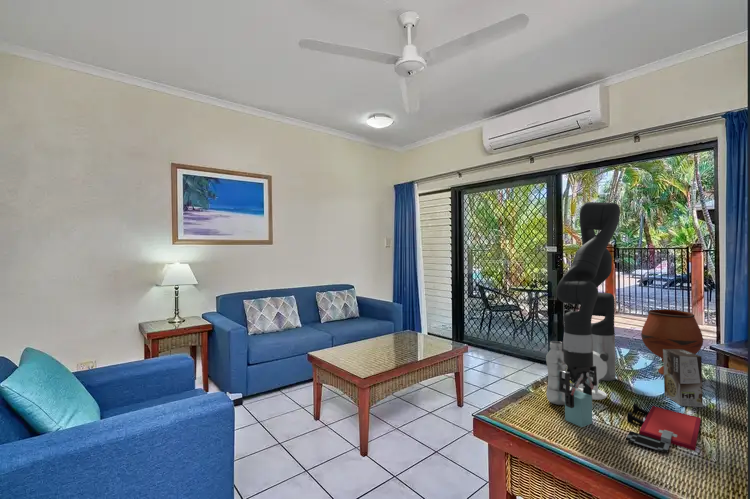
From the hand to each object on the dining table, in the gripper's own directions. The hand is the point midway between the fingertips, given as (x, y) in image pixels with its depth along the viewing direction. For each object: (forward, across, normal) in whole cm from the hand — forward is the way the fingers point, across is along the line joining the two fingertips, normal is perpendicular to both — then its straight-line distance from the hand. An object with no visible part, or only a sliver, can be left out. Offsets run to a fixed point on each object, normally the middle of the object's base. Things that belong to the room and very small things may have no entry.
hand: (578, 403), depth 103 cm
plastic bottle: (+5, -6, -11) cm, 14 cm away
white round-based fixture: (+5, -23, -11) cm, 26 cm away
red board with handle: (+6, -16, +14) cm, 21 cm away
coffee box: (+5, -43, +8) cm, 44 cm away
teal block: (+5, 0, 0) cm, 5 cm away
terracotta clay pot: (+5, -70, -6) cm, 71 cm away
